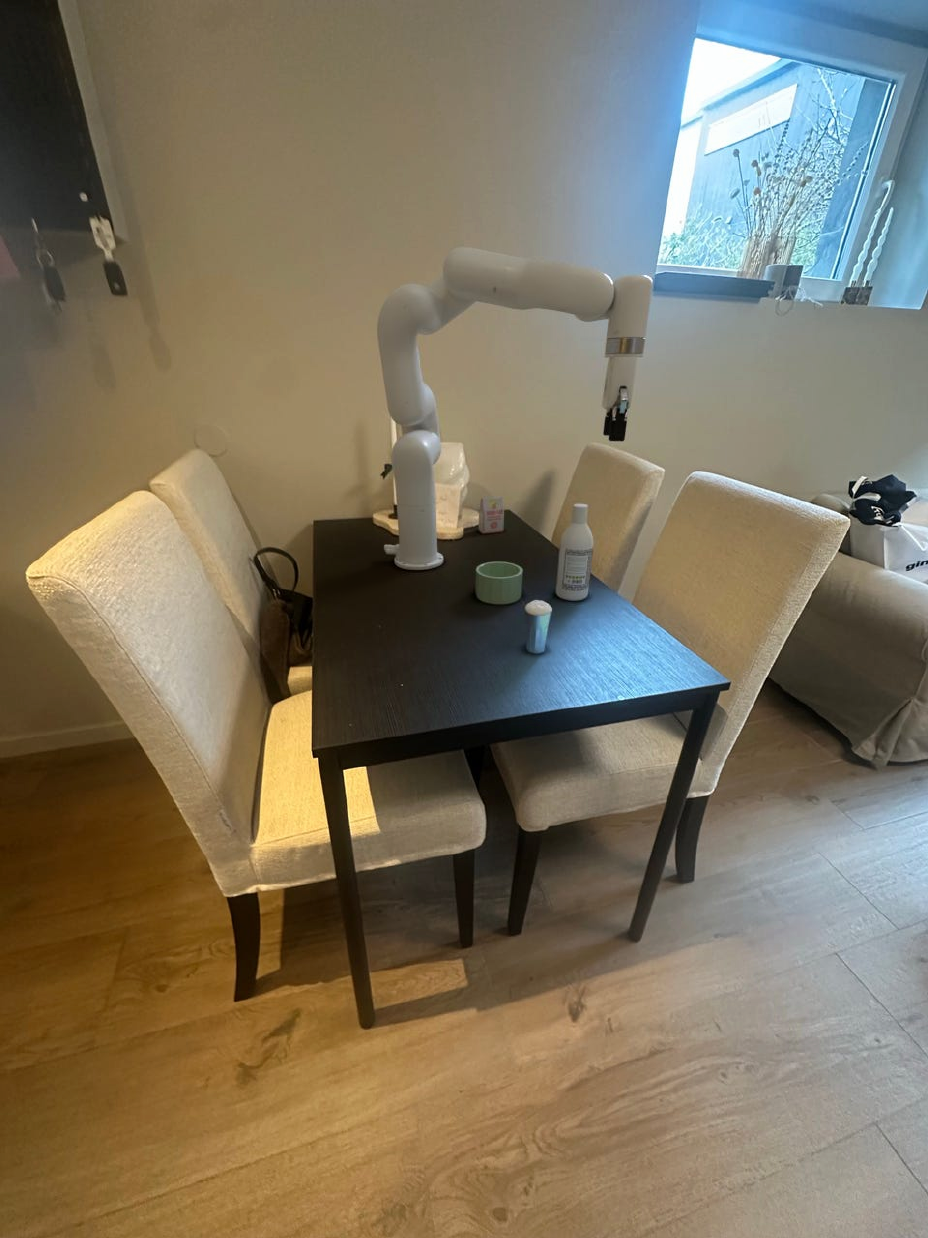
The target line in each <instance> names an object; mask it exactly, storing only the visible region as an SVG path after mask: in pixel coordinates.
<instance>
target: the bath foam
mask: <svg viewBox="0 0 928 1238" xmlns="http://www.w3.org/2000/svg"><path fill="white" fill-rule="evenodd" d="M572 507H573V508H572V515H571V522H570V523H569V525H568V526H567V527H566V529H565V530H564V532H563V533H562V535H561V539H560V542H559V551H558V560H557V561H558V562H557V571H556V572H557V574H556V585H555V594H556V596H557V597H558V598H560V599H562V600H565V601H573V602H575V601H583V600H584V599H586V598H587V597H588V595H589V586H590V581H591V571H592V561H593V554H594V546H595V545H594V537H593V533H592V531H591V529H590V527H589V525H588V523H587V520H588V511H589V505H588V504H586V503H574V504H573V506H572Z"/></svg>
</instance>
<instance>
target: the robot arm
mask: <svg viewBox="0 0 928 1238" xmlns="http://www.w3.org/2000/svg"><path fill="white" fill-rule="evenodd" d="M653 284H654V283H653V280H652V278H651V276H648V275H645V274H644V275H643V274H628V275H623V276H620V277H617V278H616V279H615V280H612V279H611V277H610V276H609V275H608V274H607V273H605V272H603V271H601V270H598V269H594V268H590V267H585V266H580V265H575V264H570V263H566V262H565V263H564V262H558V261H548V260H541V259H536V258H535V259H534V258H526V257H520V256H515V255H508V254H505V253H499V252H494V251H490V250H484V249H480V248H475V247H469V246H459V247H455V248H453V249H452V250H451V251H449V253H448V254H447V256H446V257H445V260H444V262H443V266H442V273H441V275H440V276H438V277H437V278H435V279H434V280H433V281H432V282H431V283H429V284H428V285H427V286H424V285H422V284H419V283H414V282H412V283H406V284H403V285H401V286H399V287H398V288H396V289H395V290H394V291H392V292H391V293H390V294H389V295H388V296H387V298H386V299H385V301H384V302H383V304H382V305H381V308H380V311H379V312H378V314H379V315H378V318H377V323H376V324H377V325H376V336H377V344H378V351H379V357H380V364H381V372H382V379H383V385H384V392H385V399H386V406H387V412H388V414H389V417H390V418H391V419H392V420H393V421H394V423H396V424H398V425H399V426H400V428H401V434H402V435H401V436H399V438H397V440H396V441H395V442H394V444H393V446H392V450H391V454H390V455H391V456H390V458H391V468H392V474H393V478H394V479H393V480H394V487H395V498H396V513H397V527H398V543H396V544H395V545H394V544H393V545H392V544H384V545H383V551H384V553H385V554H386V555H395V557H394V558H393V559H394V560H393V561H394V562H393V563H394V564H395V565H396V566H397V567H399V568H400V569H403V570H410V571H424V570H425V571H426V570H431V569H434V568H438V567H439V566H441V565H442V564H443V563H444V556H443V554H441V553H440V552H438V538H437V537H438V535H437V533H438V532H437V501H436V485H435V475H434V465H435V464H436V463H437V462H438V460H439V459H440V456H441V452H442V442H441V432H440V424H439V415H438V409H437V408H438V407H437V402H436V398H435V395H434V393H433V391H432V389H431V388H430V386H429V385H428V384H427V383H425V382H424V381H423V374H422V368H421V366H422V365H421V357H420V352H419V349H418V335H422V336H428V335H432V334H435V333H437V332H439V331H440V330H441V329H443V328H444V327H446V326H447V325H448V324H449V323H450V322H452V321H453V320H455V319H456V318H457V317H458V316H460V315H461V314H463V313H464V312H466V310H468V309H469V308H470V307H472V306H473V305H474V304H475V303H476V302H479V303H483V304H489V305H492V306H498V307H503V308H507V309H512V310H520V311H526V310H534V309H540V310H547V311H548V310H549V311H554V312H559V313H560V312H561V313H565V314H568V315H569V314H570V315H574V317H575V318H576V319H577V320H579V321H581V322H584V323H592V322H598V321H604V320H605V321H606V320H608V322H607V332H606V341H605V349H604V358H608V362H607V367H606V372H605V373H606V374H605V380H604V386H603V395H602V401H601V407H602V408H603V409H604V410H606V412H605V416H604V423H603V433H602V434H603V436H606V437H608V441H609V442H624V441H625V439H626V431H627V424H628V410H629V409H631V405H632V400H633V396H634V395H633V394H634V387H635V380H636V372H637V362H638V358H643V357H644V349H645V344H646V335H647V330H648V323H649V322H648V321H649V316H650V315H649V314H650V309H651V308H650V307H651V301H652V293H653Z"/></svg>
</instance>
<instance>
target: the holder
mask: <svg viewBox="0 0 928 1238" xmlns="http://www.w3.org/2000/svg"><path fill="white" fill-rule="evenodd" d="M523 571H524V569H523V568H522V566H520V565H518V564H516V563H514V562H508V561H500V560H499V561H497V560H496V561H487V562H484V563H480V564H479V565H477V566H476V568H475V596H476V598H477V599H478V600H479V601H481V602H482V603H487V604H492V605H508V604H509V605H510V604H512V603H515V602H518V601H520V600H521V599H522V598H521V597H522V586H523V573H524V572H523Z"/></svg>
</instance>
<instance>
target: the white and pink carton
mask: <svg viewBox="0 0 928 1238" xmlns="http://www.w3.org/2000/svg"><path fill="white" fill-rule="evenodd" d="M503 501H504V499H503V497H502V496H501V497H489V498H481V499H480V504H479V509H478V531H479V532H480V533H482V534H491V533H501V532H504V529H505V526H504V525H505V510H504V502H503Z"/></svg>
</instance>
